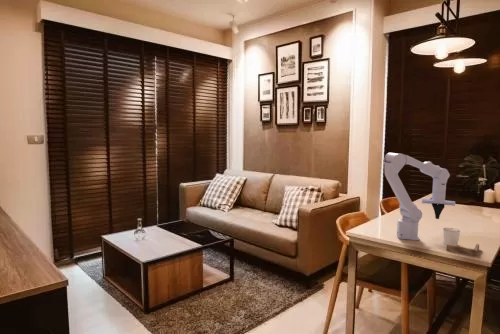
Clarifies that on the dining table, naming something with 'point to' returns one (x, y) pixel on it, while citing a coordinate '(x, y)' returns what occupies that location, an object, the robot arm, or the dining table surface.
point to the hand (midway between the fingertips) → (437, 218)
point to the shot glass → (451, 236)
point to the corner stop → (463, 250)
